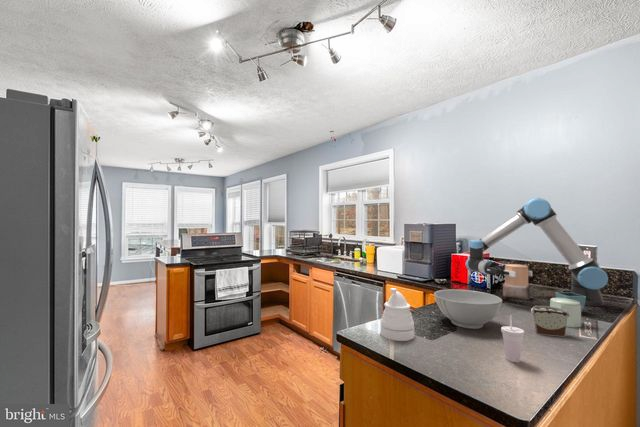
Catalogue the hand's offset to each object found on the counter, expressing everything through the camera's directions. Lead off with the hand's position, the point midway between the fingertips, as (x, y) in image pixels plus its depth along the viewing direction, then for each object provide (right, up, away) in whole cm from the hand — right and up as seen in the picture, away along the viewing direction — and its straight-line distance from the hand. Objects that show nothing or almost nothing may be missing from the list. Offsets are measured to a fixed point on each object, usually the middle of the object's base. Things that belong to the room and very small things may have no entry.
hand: (523, 274), depth 155 cm
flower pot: (+20, -18, -5) cm, 27 cm away
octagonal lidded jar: (-1, -6, +4) cm, 7 cm away
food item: (+12, -19, +24) cm, 33 cm away
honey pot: (-74, -17, -36) cm, 84 cm away
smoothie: (-43, -16, -58) cm, 74 cm away
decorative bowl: (-41, -17, -23) cm, 50 cm away
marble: (0, -16, -8) cm, 18 cm away
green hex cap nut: (+3, -17, -22) cm, 28 cm away
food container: (-13, -17, -34) cm, 40 cm away
